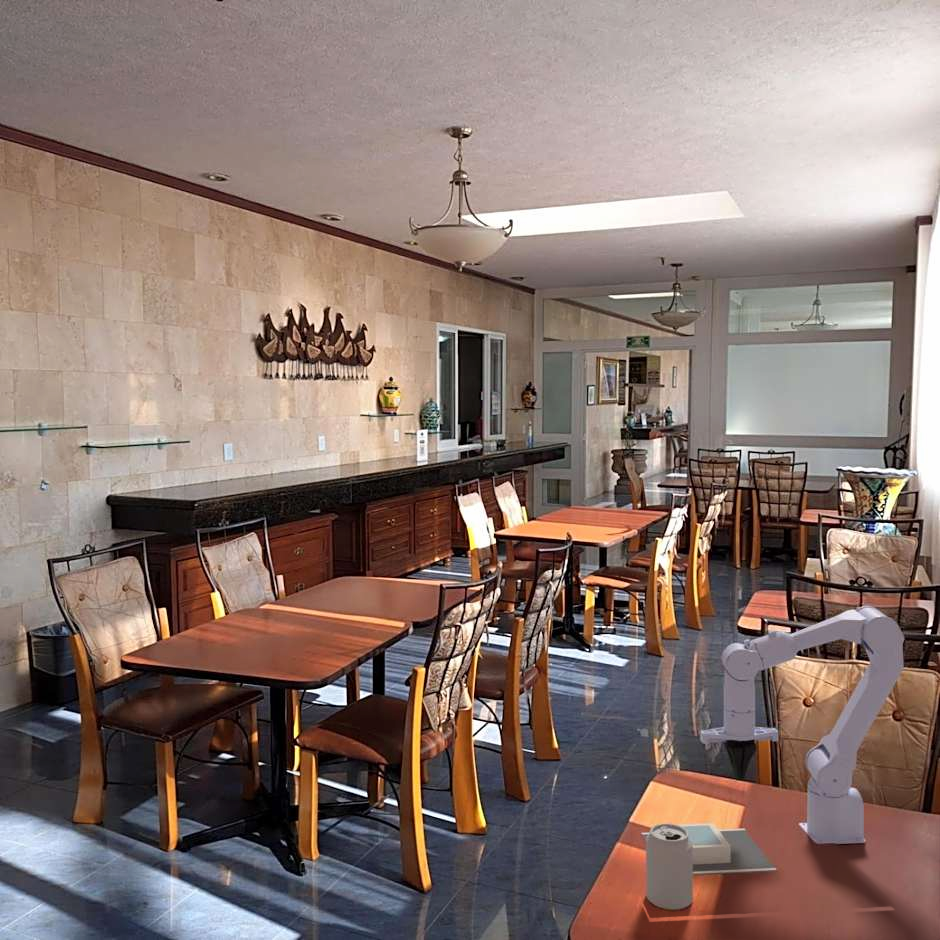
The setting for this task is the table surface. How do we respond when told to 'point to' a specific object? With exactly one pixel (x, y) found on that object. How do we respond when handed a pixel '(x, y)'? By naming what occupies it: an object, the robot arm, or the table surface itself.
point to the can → (669, 867)
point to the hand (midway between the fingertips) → (738, 778)
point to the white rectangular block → (708, 844)
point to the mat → (736, 856)
